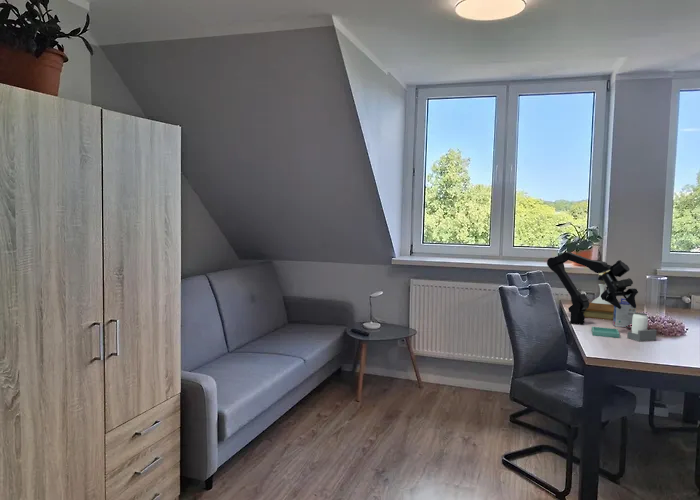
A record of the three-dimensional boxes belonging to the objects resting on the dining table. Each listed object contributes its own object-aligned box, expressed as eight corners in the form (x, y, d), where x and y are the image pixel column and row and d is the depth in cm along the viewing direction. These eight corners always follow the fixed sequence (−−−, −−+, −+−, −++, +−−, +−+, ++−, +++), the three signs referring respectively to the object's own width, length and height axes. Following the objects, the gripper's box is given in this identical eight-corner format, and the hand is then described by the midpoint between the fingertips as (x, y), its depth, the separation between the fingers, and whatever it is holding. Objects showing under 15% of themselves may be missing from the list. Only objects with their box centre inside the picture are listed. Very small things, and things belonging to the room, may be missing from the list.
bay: (627, 337, 257) (627, 327, 256) (643, 336, 260) (644, 326, 259) (639, 341, 250) (639, 331, 250) (655, 340, 253) (656, 329, 253)
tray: (592, 335, 260) (592, 331, 260) (591, 330, 271) (591, 326, 271) (619, 338, 256) (619, 334, 256) (617, 332, 267) (617, 329, 266)
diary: (583, 311, 325) (583, 302, 324) (617, 314, 317) (618, 305, 316) (581, 318, 304) (582, 307, 304) (618, 321, 296) (619, 311, 296)
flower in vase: (587, 304, 345) (589, 266, 343) (602, 304, 348) (605, 265, 346) (601, 308, 332) (603, 268, 330) (617, 308, 335) (619, 268, 333)
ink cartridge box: (632, 325, 284) (634, 298, 283) (635, 328, 279) (637, 300, 278) (612, 324, 286) (613, 297, 285) (615, 326, 281) (616, 299, 280)
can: (645, 337, 258) (646, 312, 257) (647, 340, 252) (649, 315, 251) (630, 336, 260) (631, 311, 259) (632, 339, 254) (634, 314, 253)
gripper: (606, 273, 263) (623, 299, 253) (636, 272, 269) (653, 297, 259) (593, 286, 271) (609, 312, 262) (622, 285, 277) (639, 311, 267)
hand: (628, 308), depth 262 cm, fingers open, 9 cm apart
